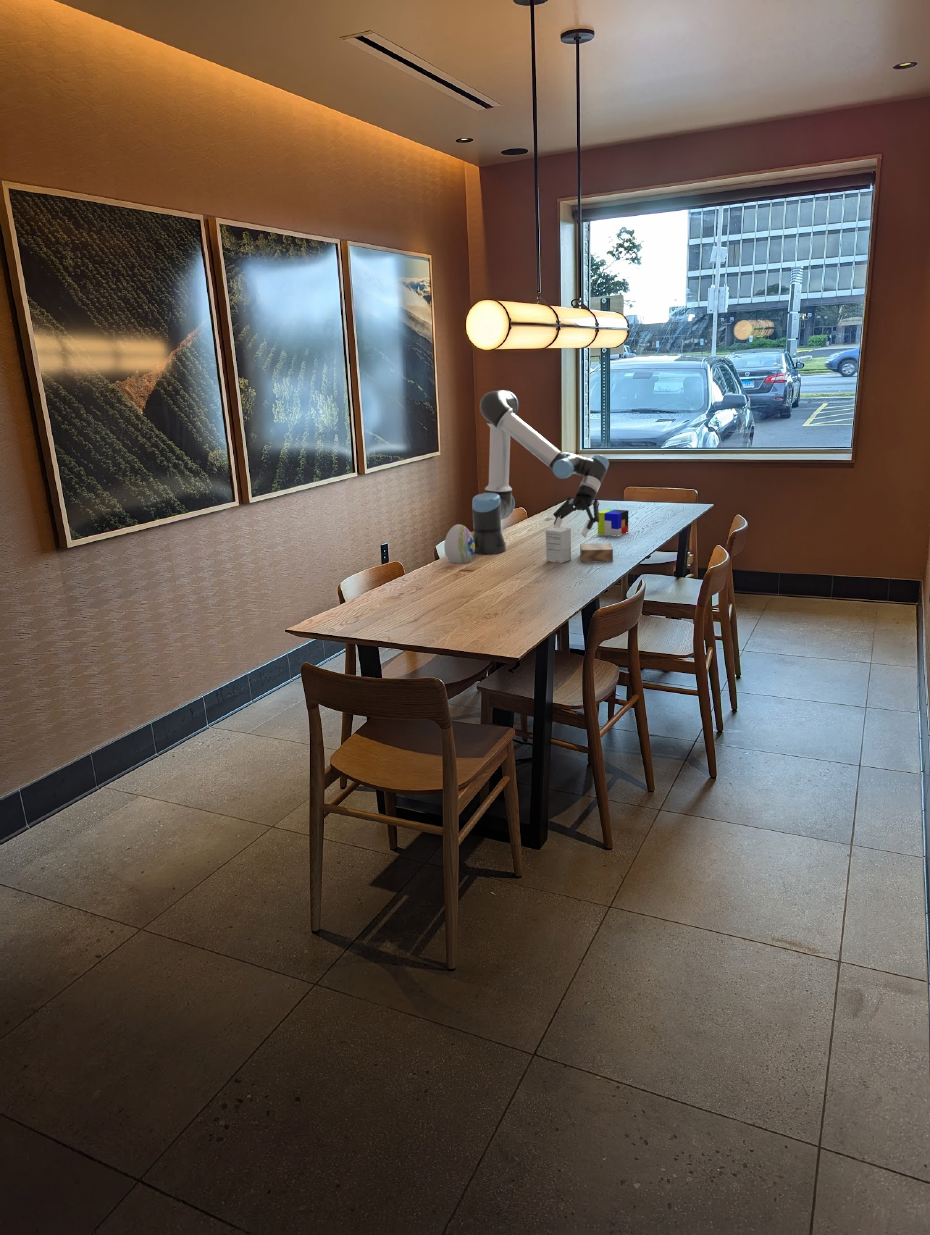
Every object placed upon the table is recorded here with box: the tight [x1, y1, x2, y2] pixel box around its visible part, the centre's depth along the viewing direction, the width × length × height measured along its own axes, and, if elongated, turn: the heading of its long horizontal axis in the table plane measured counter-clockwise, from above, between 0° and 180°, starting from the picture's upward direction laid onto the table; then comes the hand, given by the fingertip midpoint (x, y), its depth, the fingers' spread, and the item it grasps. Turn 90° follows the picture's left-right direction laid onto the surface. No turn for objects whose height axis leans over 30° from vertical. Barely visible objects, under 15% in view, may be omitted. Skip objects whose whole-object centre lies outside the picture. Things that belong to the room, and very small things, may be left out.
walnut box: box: [579, 542, 614, 563], centre depth 331 cm, size 12×12×5 cm
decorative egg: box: [443, 523, 475, 564], centre depth 335 cm, size 12×12×15 cm
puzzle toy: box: [597, 508, 629, 537], centre depth 375 cm, size 10×10×10 cm
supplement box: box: [545, 526, 572, 564], centre depth 329 cm, size 7×7×13 cm
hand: (568, 533), depth 330 cm, fingers open, 13 cm apart
